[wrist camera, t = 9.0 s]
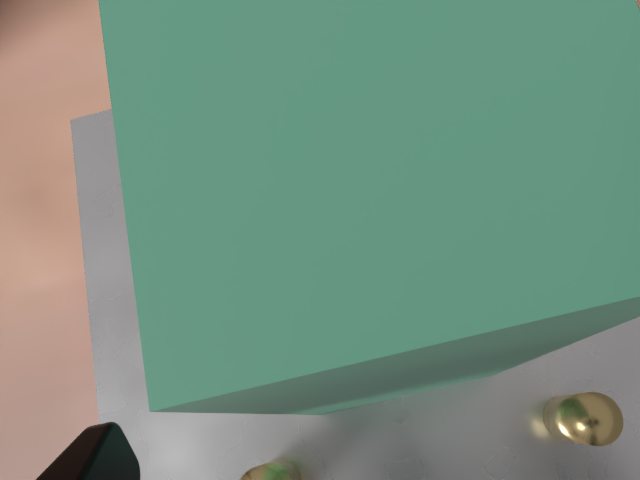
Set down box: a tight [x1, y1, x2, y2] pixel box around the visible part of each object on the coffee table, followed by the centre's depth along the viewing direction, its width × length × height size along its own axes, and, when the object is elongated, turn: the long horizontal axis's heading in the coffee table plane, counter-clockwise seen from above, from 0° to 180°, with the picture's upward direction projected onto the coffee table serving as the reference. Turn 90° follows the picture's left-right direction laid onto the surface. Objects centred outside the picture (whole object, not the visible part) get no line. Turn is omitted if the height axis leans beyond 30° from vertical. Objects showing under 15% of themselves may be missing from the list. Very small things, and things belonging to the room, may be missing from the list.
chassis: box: [71, 109, 640, 480], centre depth 17 cm, size 18×18×4 cm
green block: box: [98, 0, 640, 415], centre depth 11 cm, size 5×5×12 cm
